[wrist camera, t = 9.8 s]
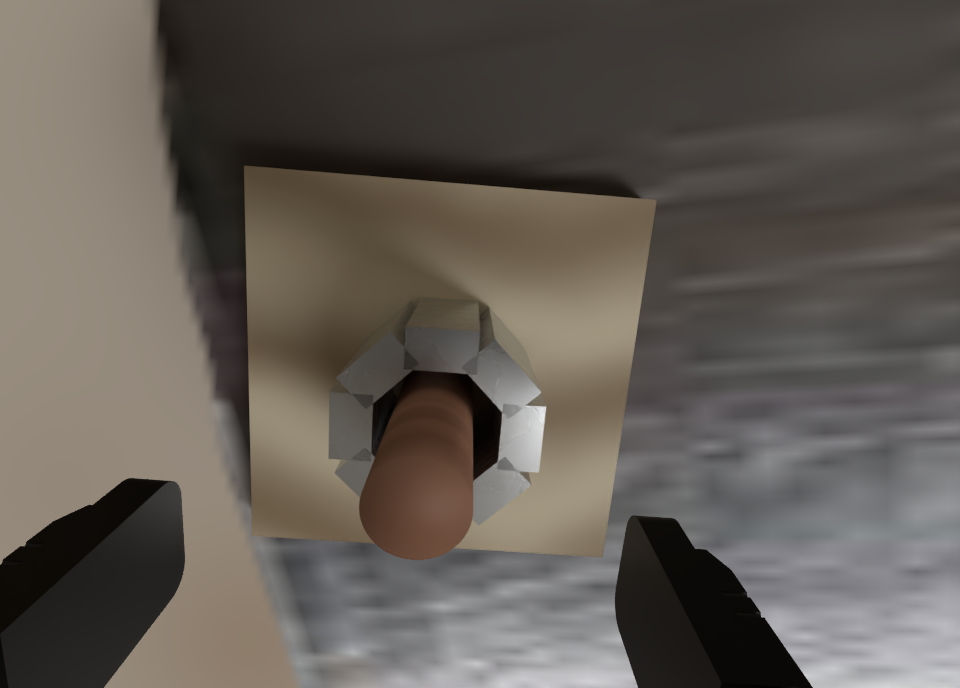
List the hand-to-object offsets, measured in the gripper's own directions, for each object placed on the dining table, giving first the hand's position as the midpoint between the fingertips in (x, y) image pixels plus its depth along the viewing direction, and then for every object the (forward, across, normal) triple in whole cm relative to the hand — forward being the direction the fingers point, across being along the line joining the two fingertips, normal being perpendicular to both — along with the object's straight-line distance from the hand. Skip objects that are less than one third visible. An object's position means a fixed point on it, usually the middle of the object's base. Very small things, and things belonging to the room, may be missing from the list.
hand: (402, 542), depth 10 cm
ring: (+11, 0, 0) cm, 11 cm away
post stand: (+12, 0, 0) cm, 12 cm away
